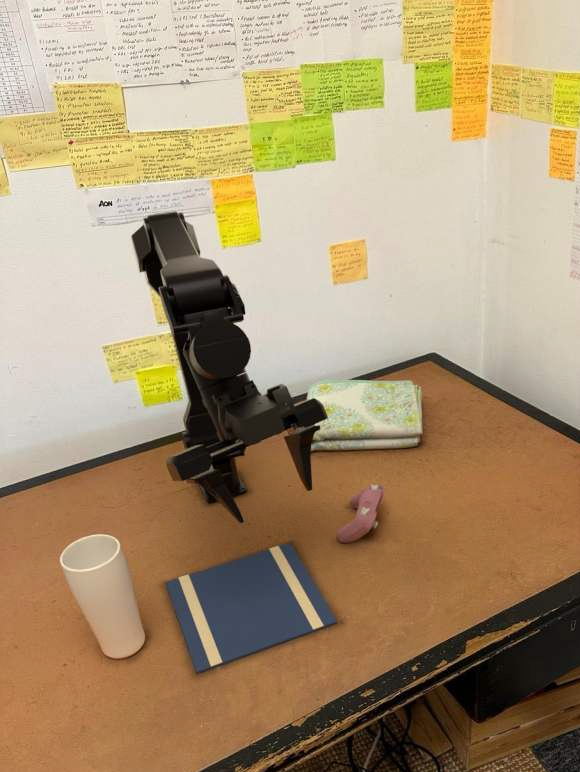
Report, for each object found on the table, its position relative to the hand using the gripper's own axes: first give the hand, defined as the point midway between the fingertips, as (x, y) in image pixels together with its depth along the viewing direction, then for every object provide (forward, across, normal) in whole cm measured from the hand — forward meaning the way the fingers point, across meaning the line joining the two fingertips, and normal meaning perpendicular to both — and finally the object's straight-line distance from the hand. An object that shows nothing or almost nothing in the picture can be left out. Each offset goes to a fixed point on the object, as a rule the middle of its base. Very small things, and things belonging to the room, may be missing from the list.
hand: (276, 506), depth 89 cm
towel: (0, +31, +37) cm, 49 cm away
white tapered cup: (+10, -22, +12) cm, 27 cm away
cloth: (+12, -6, +10) cm, 16 cm away
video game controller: (+11, +15, +15) cm, 24 cm away
